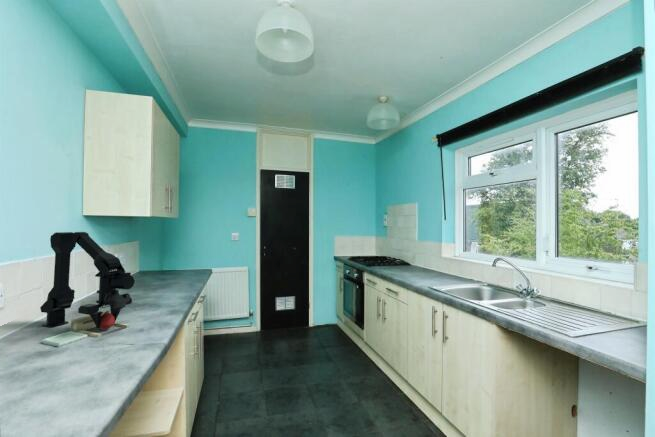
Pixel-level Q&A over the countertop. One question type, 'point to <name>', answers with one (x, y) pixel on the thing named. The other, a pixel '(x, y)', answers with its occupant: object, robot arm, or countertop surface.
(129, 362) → the countertop surface
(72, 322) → the open rectangular frame
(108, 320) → the onion
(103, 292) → the robot arm
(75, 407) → the countertop surface
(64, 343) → the tray
